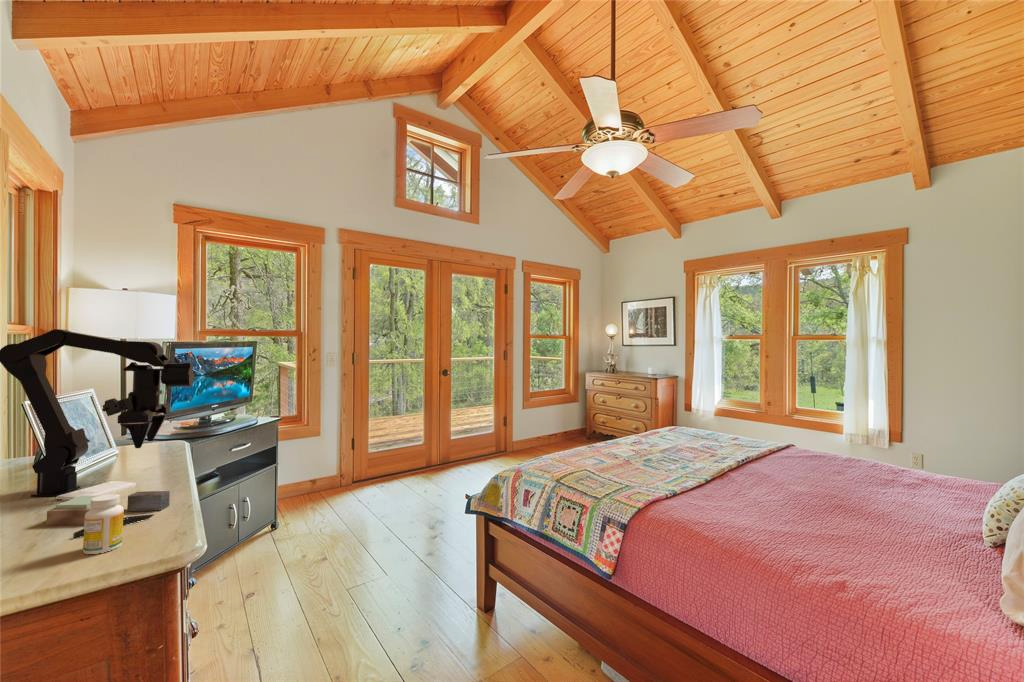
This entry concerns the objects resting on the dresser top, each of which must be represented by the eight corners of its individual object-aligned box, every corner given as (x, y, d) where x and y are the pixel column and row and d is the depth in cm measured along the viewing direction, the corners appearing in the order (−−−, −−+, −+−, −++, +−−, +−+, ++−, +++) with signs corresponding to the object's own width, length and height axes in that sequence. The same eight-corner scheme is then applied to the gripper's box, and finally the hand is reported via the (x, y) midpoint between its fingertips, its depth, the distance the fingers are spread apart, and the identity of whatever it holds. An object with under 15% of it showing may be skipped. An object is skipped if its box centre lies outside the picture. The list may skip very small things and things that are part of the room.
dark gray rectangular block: (127, 511, 100) (127, 495, 100) (136, 506, 103) (137, 491, 103) (160, 510, 101) (161, 495, 101) (169, 505, 103) (169, 490, 104)
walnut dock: (46, 525, 91) (47, 511, 91) (67, 516, 96) (68, 502, 96) (96, 523, 93) (97, 509, 93) (115, 514, 98) (115, 501, 98)
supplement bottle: (84, 558, 78) (86, 504, 78) (81, 549, 81) (83, 497, 81) (124, 548, 82) (126, 496, 82) (119, 539, 85) (121, 490, 85)
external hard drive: (135, 488, 117) (82, 504, 105) (111, 486, 119) (55, 501, 107) (136, 482, 117) (82, 497, 105) (111, 480, 119) (56, 495, 107)
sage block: (55, 524, 93) (56, 505, 93) (80, 513, 99) (80, 495, 99) (86, 523, 93) (86, 504, 93) (108, 512, 99) (109, 495, 99)
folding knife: (154, 518, 97) (154, 509, 97) (156, 519, 96) (156, 510, 96) (72, 539, 86) (73, 529, 86) (74, 540, 85) (74, 530, 85)
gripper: (123, 385, 124) (121, 439, 124) (91, 391, 107) (89, 454, 107) (170, 384, 129) (169, 437, 129) (148, 390, 112) (146, 451, 112)
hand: (144, 444), depth 119 cm, fingers open, 9 cm apart
